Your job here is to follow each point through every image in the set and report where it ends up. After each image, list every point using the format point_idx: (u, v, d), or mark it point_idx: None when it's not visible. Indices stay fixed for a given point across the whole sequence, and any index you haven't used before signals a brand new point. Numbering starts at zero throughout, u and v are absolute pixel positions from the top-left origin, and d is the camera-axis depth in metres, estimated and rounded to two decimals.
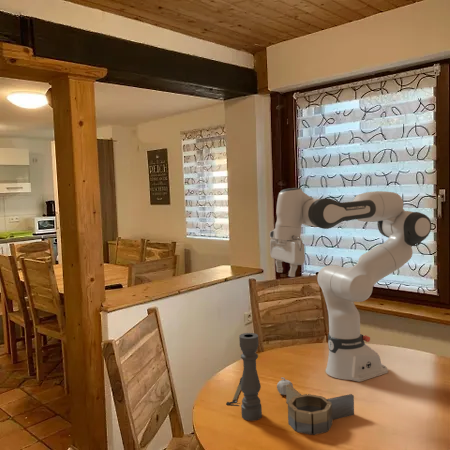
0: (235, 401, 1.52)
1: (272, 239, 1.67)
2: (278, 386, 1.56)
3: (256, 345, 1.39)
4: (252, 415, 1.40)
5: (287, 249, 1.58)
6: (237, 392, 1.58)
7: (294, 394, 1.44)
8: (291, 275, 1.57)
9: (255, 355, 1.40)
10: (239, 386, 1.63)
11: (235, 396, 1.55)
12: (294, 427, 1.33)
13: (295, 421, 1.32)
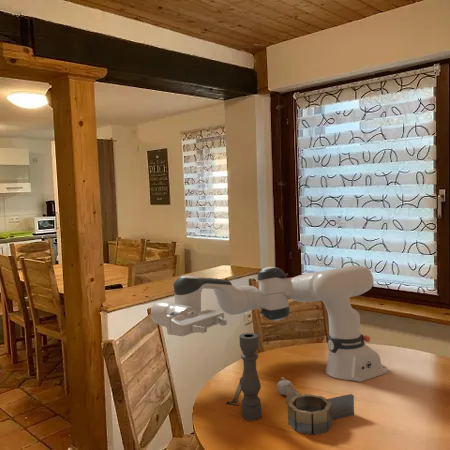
0: (235, 401, 1.53)
1: (175, 316, 1.53)
2: (278, 386, 1.56)
3: (256, 345, 1.39)
4: (252, 415, 1.40)
5: (203, 314, 1.59)
6: (237, 392, 1.58)
7: (294, 394, 1.44)
8: None
9: (255, 355, 1.40)
10: (239, 386, 1.63)
11: (235, 396, 1.56)
12: (294, 427, 1.33)
13: (295, 421, 1.32)
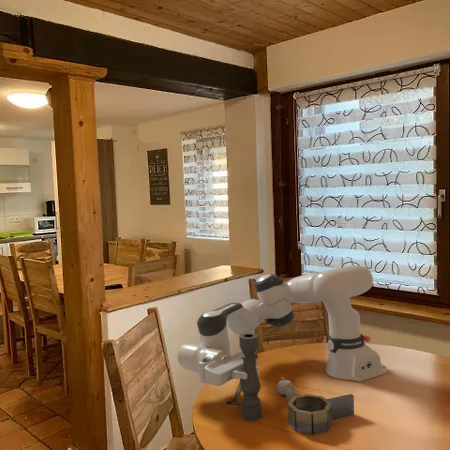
0: (235, 400, 1.53)
1: (209, 363, 1.43)
2: (278, 386, 1.56)
3: (256, 345, 1.39)
4: (252, 415, 1.40)
5: (235, 358, 1.49)
6: (237, 391, 1.59)
7: (294, 394, 1.44)
8: None
9: (255, 355, 1.40)
10: (239, 385, 1.64)
11: (235, 395, 1.56)
12: (294, 427, 1.33)
13: (295, 421, 1.32)
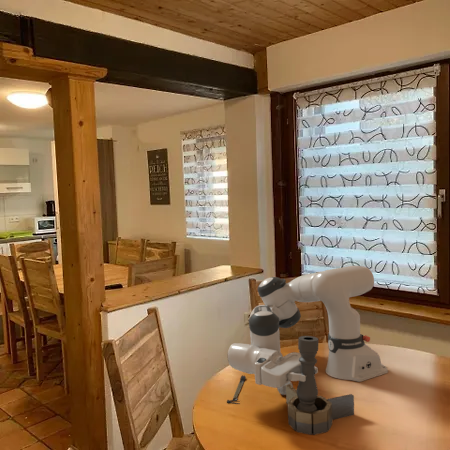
0: (235, 399, 1.54)
1: (265, 364, 1.37)
2: None
3: (317, 348, 1.33)
4: None
5: (290, 359, 1.43)
6: (237, 390, 1.60)
7: (294, 394, 1.44)
8: None
9: (315, 359, 1.34)
10: (239, 384, 1.64)
11: (235, 394, 1.57)
12: (294, 427, 1.33)
13: (295, 421, 1.32)
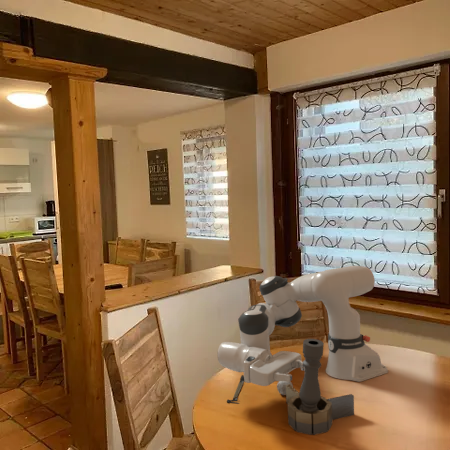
0: (235, 399, 1.54)
1: (254, 363, 1.39)
2: (278, 386, 1.56)
3: (322, 353, 1.30)
4: None
5: (279, 357, 1.45)
6: (237, 390, 1.60)
7: (294, 394, 1.44)
8: None
9: (319, 363, 1.31)
10: (239, 384, 1.65)
11: (235, 394, 1.57)
12: (294, 427, 1.33)
13: (295, 421, 1.32)
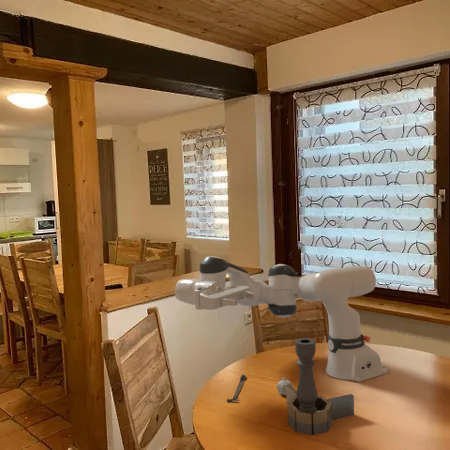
0: (236, 398, 1.54)
1: (204, 291, 1.51)
2: (278, 386, 1.56)
3: (314, 351, 1.32)
4: None
5: (229, 289, 1.57)
6: (238, 389, 1.60)
7: (294, 394, 1.44)
8: None
9: (313, 361, 1.33)
10: (240, 384, 1.65)
11: (236, 393, 1.57)
12: (294, 427, 1.33)
13: (295, 421, 1.32)
